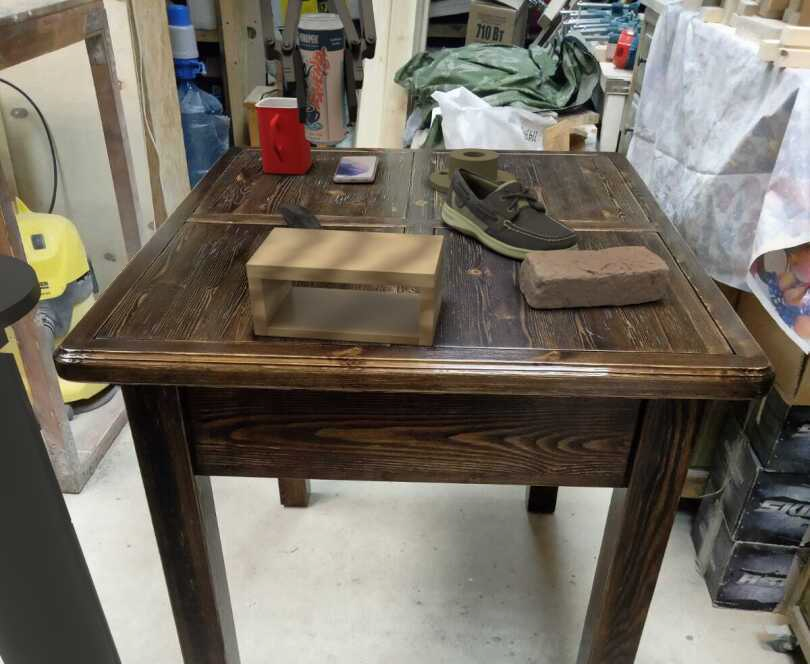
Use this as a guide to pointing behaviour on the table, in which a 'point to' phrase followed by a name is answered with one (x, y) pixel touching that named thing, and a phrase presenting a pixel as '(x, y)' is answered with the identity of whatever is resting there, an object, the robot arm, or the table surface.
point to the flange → (470, 167)
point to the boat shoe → (503, 216)
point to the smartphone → (356, 169)
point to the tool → (299, 217)
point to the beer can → (323, 77)
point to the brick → (593, 277)
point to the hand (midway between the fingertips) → (328, 114)
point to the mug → (282, 137)
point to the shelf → (347, 263)
